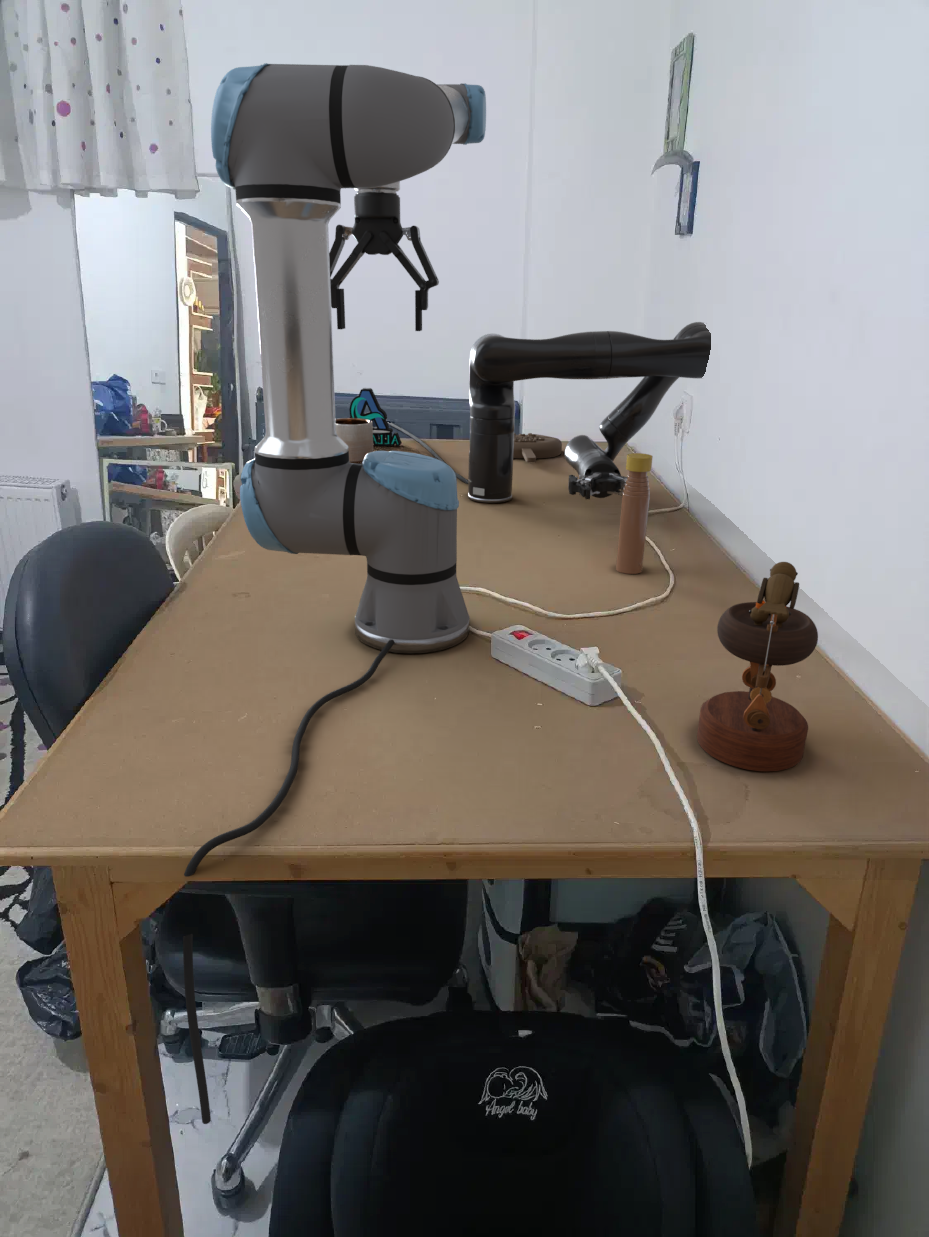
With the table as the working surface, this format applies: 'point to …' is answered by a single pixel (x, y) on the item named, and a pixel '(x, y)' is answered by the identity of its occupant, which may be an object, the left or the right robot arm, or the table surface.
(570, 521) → the table surface
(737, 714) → the music box
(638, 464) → the cap
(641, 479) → the bottle
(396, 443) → the decorative sign
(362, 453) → the planter
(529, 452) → the ice cream bar
